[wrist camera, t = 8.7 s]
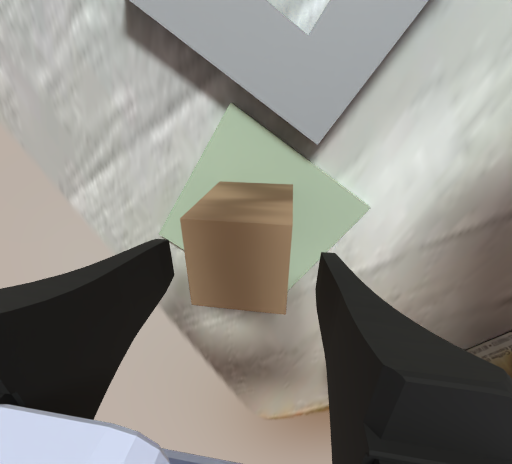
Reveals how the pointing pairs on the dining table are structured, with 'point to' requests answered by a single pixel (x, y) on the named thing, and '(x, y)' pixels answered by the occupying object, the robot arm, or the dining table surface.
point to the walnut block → (240, 246)
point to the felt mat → (274, 172)
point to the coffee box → (496, 352)
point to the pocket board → (291, 50)
